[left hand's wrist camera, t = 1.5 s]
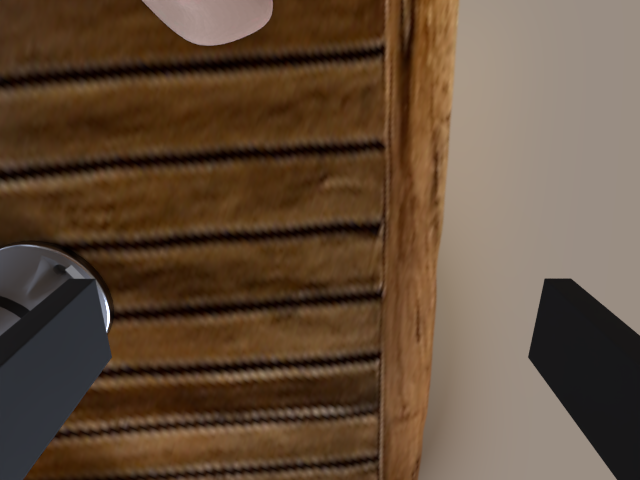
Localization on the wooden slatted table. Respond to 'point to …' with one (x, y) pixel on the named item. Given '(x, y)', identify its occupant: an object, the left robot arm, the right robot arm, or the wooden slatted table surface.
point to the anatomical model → (212, 18)
